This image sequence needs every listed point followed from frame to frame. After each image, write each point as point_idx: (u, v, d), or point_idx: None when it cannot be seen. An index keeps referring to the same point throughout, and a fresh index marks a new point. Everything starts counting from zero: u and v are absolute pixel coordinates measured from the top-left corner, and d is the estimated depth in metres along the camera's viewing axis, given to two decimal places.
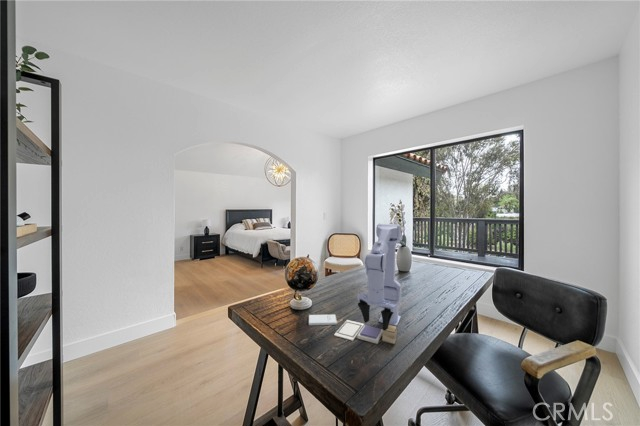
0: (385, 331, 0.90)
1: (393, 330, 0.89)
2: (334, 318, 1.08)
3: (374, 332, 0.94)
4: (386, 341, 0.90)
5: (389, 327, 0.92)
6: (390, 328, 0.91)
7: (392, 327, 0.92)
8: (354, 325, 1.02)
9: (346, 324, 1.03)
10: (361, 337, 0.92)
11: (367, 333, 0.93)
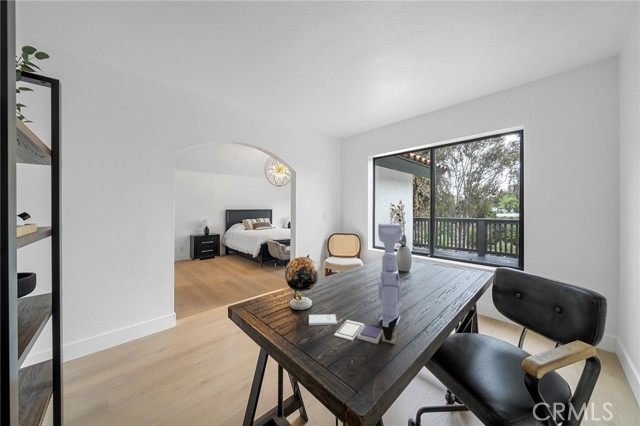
0: None
1: (393, 330, 0.89)
2: (334, 318, 1.08)
3: (374, 332, 0.94)
4: (386, 341, 0.90)
5: None
6: None
7: None
8: (354, 325, 1.02)
9: (346, 324, 1.03)
10: (361, 337, 0.92)
11: (367, 333, 0.93)
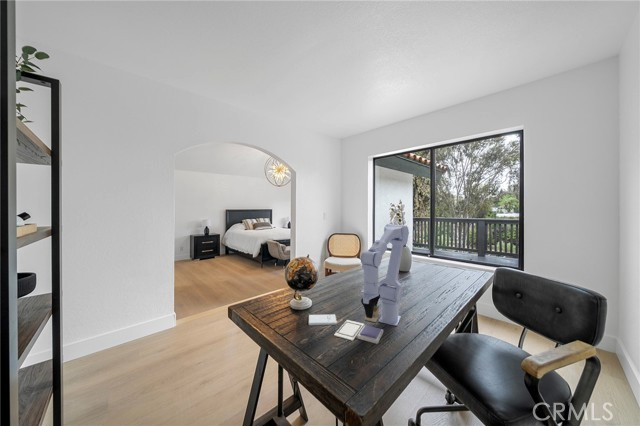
0: None
1: (375, 309, 0.92)
2: (334, 318, 1.08)
3: (374, 332, 0.94)
4: (368, 320, 0.93)
5: None
6: None
7: (374, 307, 0.95)
8: (354, 325, 1.02)
9: (346, 324, 1.03)
10: (361, 337, 0.92)
11: (367, 333, 0.93)
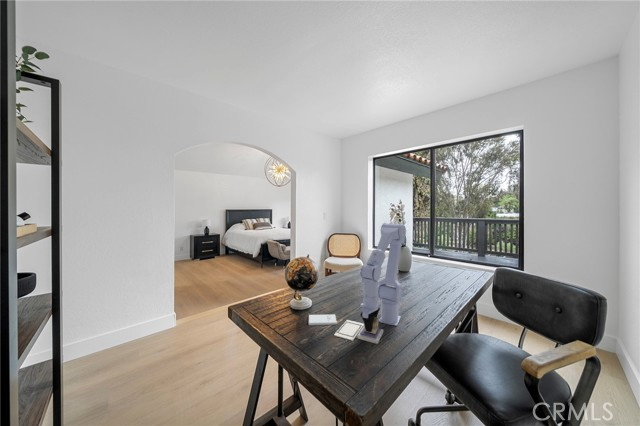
0: None
1: (374, 321, 0.93)
2: (334, 318, 1.08)
3: None
4: (367, 332, 0.93)
5: None
6: None
7: (374, 318, 0.95)
8: (354, 325, 1.02)
9: (346, 324, 1.03)
10: (361, 337, 0.92)
11: (367, 333, 0.93)
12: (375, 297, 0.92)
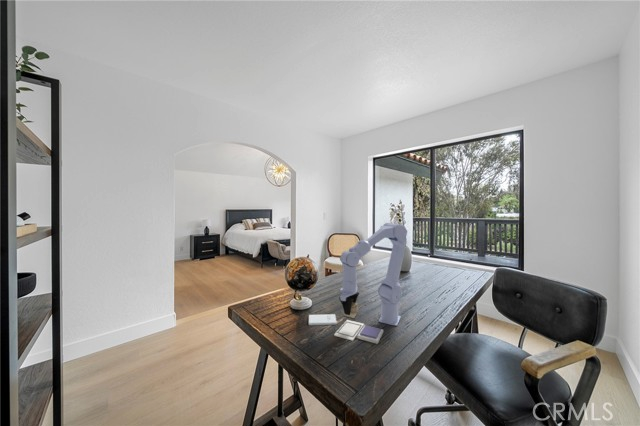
0: None
1: (353, 306, 0.97)
2: (334, 318, 1.08)
3: (374, 332, 0.94)
4: (347, 316, 0.97)
5: None
6: None
7: (353, 303, 0.99)
8: (354, 325, 1.02)
9: (346, 324, 1.03)
10: (361, 337, 0.92)
11: (367, 333, 0.93)
12: (353, 281, 0.96)
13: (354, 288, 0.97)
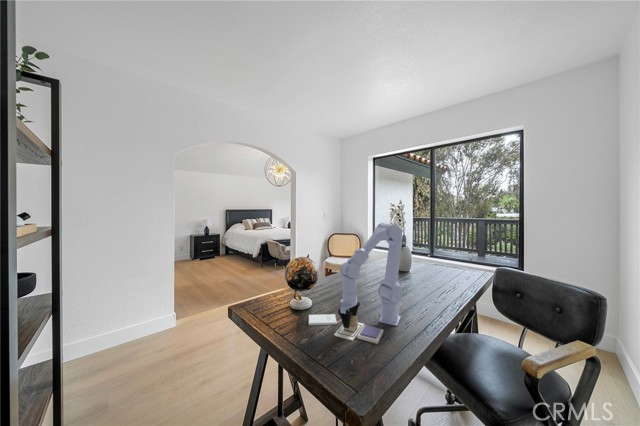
0: None
1: (353, 319, 0.97)
2: (334, 318, 1.08)
3: (374, 332, 0.94)
4: (347, 330, 0.98)
5: None
6: (351, 318, 0.98)
7: (353, 317, 0.99)
8: None
9: None
10: (361, 337, 0.92)
11: (367, 333, 0.93)
12: (353, 293, 0.96)
13: (354, 300, 0.97)
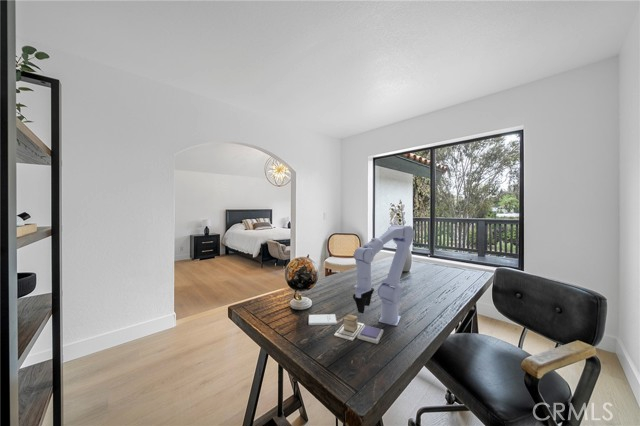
0: (346, 320, 0.98)
1: (353, 319, 0.97)
2: (334, 318, 1.08)
3: (374, 332, 0.94)
4: (347, 330, 0.98)
5: (350, 317, 0.99)
6: (351, 318, 0.98)
7: (353, 317, 0.99)
8: None
9: None
10: (361, 337, 0.92)
11: (367, 333, 0.93)
12: (368, 278, 0.95)
13: (369, 285, 0.96)
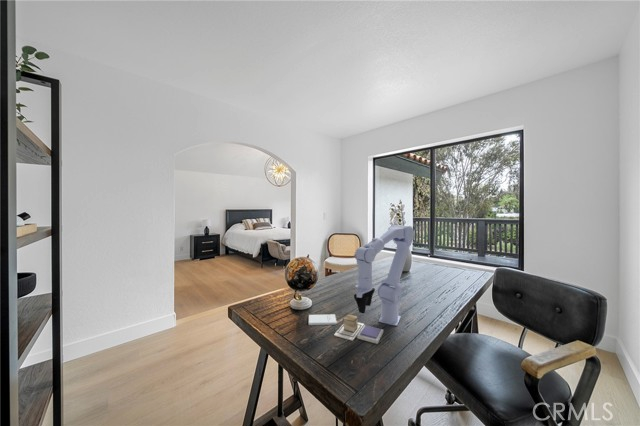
0: (346, 320, 0.98)
1: (353, 319, 0.97)
2: (334, 318, 1.08)
3: (374, 332, 0.94)
4: (347, 330, 0.98)
5: (350, 317, 0.99)
6: (351, 318, 0.98)
7: (353, 317, 0.99)
8: None
9: None
10: (361, 337, 0.92)
11: (367, 333, 0.93)
12: (369, 278, 0.95)
13: (370, 285, 0.95)
